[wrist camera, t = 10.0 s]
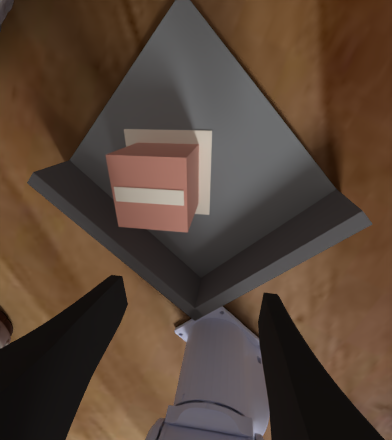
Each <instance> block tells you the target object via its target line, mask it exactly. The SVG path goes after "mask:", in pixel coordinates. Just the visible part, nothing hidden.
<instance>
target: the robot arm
mask: <svg viewBox="0 0 392 440" xmlns="http://www.w3.org/2000/svg"><path fill="white" fill-rule="evenodd" d="M127 305H128V303H127V298H126V293H125V288H124V283H123V278H122V276H115V275H111V276H109V277H108V278H107V279H105V280H104V281H103V282H101V283H100V284H99V285H97V286H96V287H95V288H94V289H92V290H91V291H90V292H88V293H87V294H86V295H84V296H83V297H82V298H80V299H79V300H78V301H76V302H75V303H74V304H72V305H71V306H69V307H68V308H66V309H65V310H64V311H62V312H61V313H59V314H58V315H56V316H55V317H54V318H52V319H51V320H49V321H47V322H46V323H44V324H43V325H41V326H40V327H38V328H36V329H35V330H33V331H31V332H30V333H28V334H26V335H25V336H23V337H21V338H19V339H17V340H16V341H14V342H12V343H10V344H8V345H6V346H4V347H3V348H1V349H0V440H66V437H67V434H68V432H69V429H70V427H71V424H72V422H73V419H74V417H75V414H76V412H77V410H78V407H79V405H80V402H81V400H82V398H83V395H84V393H85V391H86V389H87V386H88V384H89V382H90V379H91V377H92V375H93V373H94V371H95V369H96V367H97V365H98V364H99V362H100V360H101V358H102V356H103V354H104V352H105V351H106V349H107V347H108V345H109V343H110V341H111V340H112V338H113V336H114V334H115V332H116V330H117V328H118V327H119V325H120V323H121V320H122V318H123V315H124V313H125V310H126V307H127ZM221 311H223V312H221ZM258 328H259V338H258V337H257V336H256V335H255V334H254V333H252V332H251V331H250V330H249V329H248V328H247V327H246V326H244V325H243V324H242V323H241V322H240V321H239V320H238V319H237V318H235V317H234V316H233V315H232V314H231V313H230V312H229V311H227V310H226V309H225V308H224V307H223V306H222V307H220V308H218V309H216V310H214V311H212V312H211V313H209V314H207V315H205V316H203V317H201V318H200V319H198V320H196V321H194V320H193V319H191V320H189V321H187V322H185V323H183V324H182V325H180V326H178V327H176V328H175V331H174V332H175V333H176V334H177V335H178V336H179V337H181V338H182V339H183V340H185V341H186V347H185V352H184V357H183V362H182V367H181V372H180V376H179V381H178V386H177V391H176V396H175V401H174V406H171V405H169V406H168V409H167V414H166V418H159V419H158V420H157V421H156V423H155V424H154V425H153V426H152V427H151V429H150V430H149V432H148V434H147V436H146V439H145V440H264V439H263V437H262V436H263V434H264V433H265V431H266V428H267V425H268V421H269V416H270V424H271V437H272V440H385V439H384V438H383V437H382V436H381V435H380V434H379V433H378V432H377V431H376V429H375V428H374V427H373V426H372V425H371V424H370V423H369V422H368V421H367V419H366V418H365V417H364V416H363V415H362V414H361V413H360V412H359V410H358V409H357V408H356V407H355V406H354V405H353V404H352V402H351V401H350V400H349V399H348V398H347V396H346V395H345V394H344V393H343V392H342V390H341V389H340V388H339V387H338V385H337V384H336V383H335V382H334V380H333V379H332V378H331V376H330V375H329V374H328V373H327V371H326V370H325V369H324V367H323V366H322V365H321V363H320V362H319V360H318V359H317V358H316V356H315V355H314V353H313V352H312V350H311V349H310V348H309V346H308V345H307V343H306V342H305V340H304V338H303V337H302V335H301V334H300V332H299V331H298V329H297V327H296V326H295V324H294V323H293V321H292V319H291V317H290V316H289V314H288V312H287V310H286V309H285V307H284V305H283V303H282V301H281V299H280V297H279V296H278V295H277V294H271V293H264V295H263V300H262V305H261V310H260V315H259V320H258Z"/></svg>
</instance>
